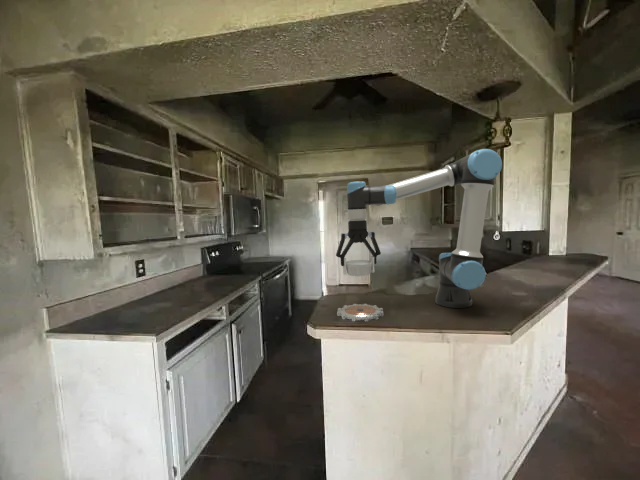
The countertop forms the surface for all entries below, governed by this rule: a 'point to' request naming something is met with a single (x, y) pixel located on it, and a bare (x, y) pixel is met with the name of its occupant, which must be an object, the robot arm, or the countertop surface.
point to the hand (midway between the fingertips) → (358, 272)
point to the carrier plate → (360, 312)
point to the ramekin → (358, 267)
